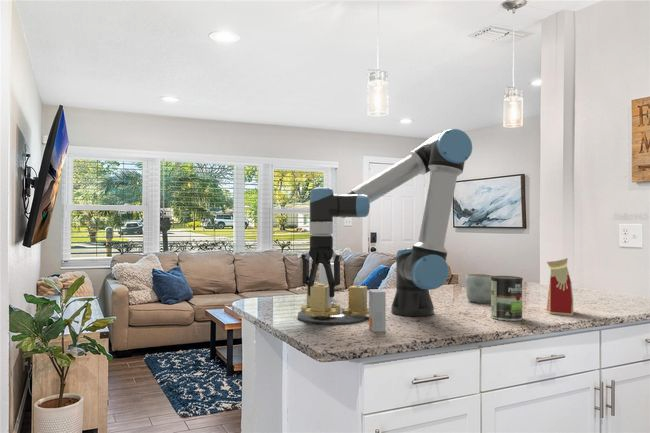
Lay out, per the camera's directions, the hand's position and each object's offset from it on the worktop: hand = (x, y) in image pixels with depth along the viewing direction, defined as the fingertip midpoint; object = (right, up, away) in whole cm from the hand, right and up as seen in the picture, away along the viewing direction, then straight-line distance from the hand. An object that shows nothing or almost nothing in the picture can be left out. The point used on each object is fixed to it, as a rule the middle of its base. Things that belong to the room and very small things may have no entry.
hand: (321, 306), depth 169 cm
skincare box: (+17, -5, -11) cm, 21 cm away
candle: (+2, -6, +50) cm, 51 cm away
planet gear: (0, -2, 0) cm, 2 cm away
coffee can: (+64, -6, +9) cm, 64 cm away
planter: (+65, -6, +44) cm, 79 cm away
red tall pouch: (+87, -6, +20) cm, 89 cm away
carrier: (+4, -5, +8) cm, 11 cm away
